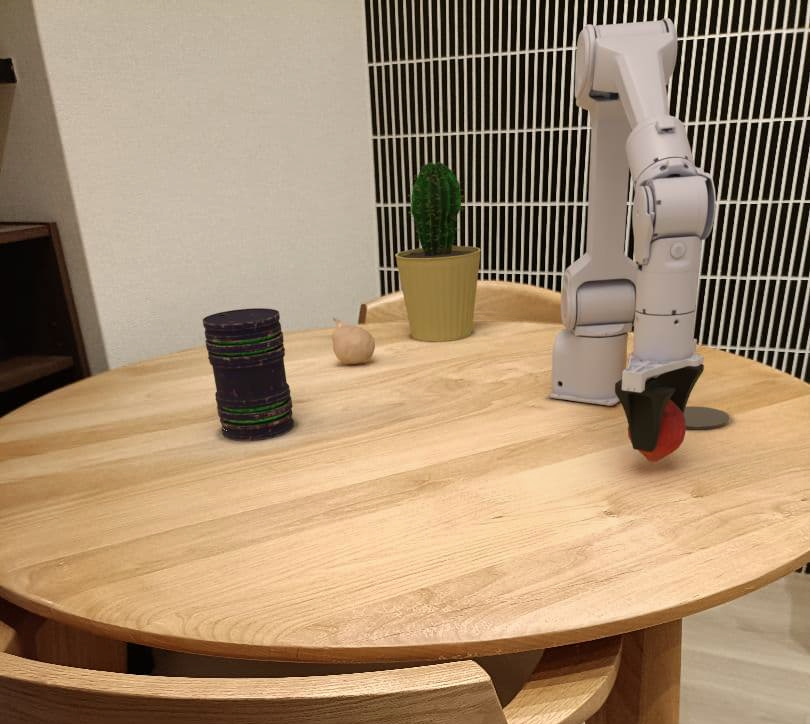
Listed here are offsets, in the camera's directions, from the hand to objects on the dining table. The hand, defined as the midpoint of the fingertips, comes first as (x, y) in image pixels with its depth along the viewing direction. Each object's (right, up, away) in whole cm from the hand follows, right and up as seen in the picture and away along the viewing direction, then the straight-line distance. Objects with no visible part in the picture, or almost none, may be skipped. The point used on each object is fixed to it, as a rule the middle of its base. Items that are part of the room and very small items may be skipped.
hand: (655, 440), depth 87 cm
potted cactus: (-20, +28, +67) cm, 75 cm away
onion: (0, -2, +1) cm, 3 cm away
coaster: (+9, +4, +15) cm, 18 cm away
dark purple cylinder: (-46, +4, +23) cm, 52 cm away
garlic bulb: (-35, +19, +51) cm, 65 cm away
